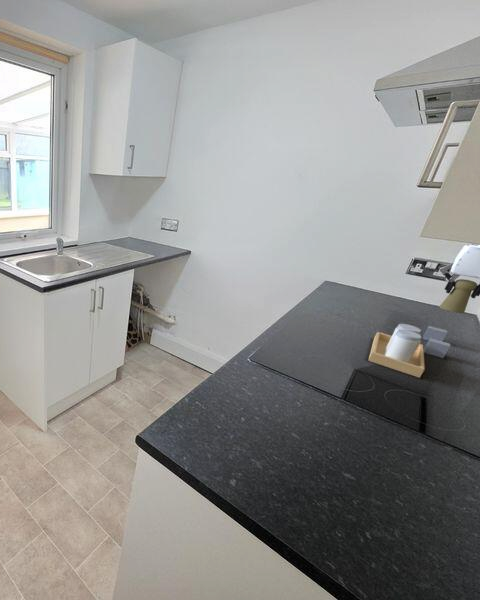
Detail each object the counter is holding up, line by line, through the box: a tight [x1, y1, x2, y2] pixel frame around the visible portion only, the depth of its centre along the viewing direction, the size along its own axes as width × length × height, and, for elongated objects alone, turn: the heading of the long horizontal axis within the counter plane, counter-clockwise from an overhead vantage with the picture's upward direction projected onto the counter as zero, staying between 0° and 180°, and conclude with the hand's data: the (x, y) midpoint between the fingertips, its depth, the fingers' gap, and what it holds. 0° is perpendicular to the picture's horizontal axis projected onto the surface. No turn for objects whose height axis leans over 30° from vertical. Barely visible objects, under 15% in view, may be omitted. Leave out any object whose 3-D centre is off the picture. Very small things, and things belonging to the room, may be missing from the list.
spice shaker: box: [384, 323, 422, 353], centre depth 107 cm, size 6×6×11 cm
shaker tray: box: [367, 331, 426, 378], centre depth 109 cm, size 13×23×3 cm, turn 135°
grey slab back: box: [422, 325, 448, 342], centre depth 122 cm, size 5×3×5 cm, turn 45°
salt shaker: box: [384, 330, 423, 363], centre depth 103 cm, size 6×6×11 cm
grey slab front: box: [423, 338, 451, 359], centre depth 112 cm, size 5×3×5 cm, turn 45°
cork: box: [439, 278, 478, 314], centre depth 109 cm, size 6×6×11 cm
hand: (460, 294), depth 109 cm, fingers closed on cork, 5 cm apart
